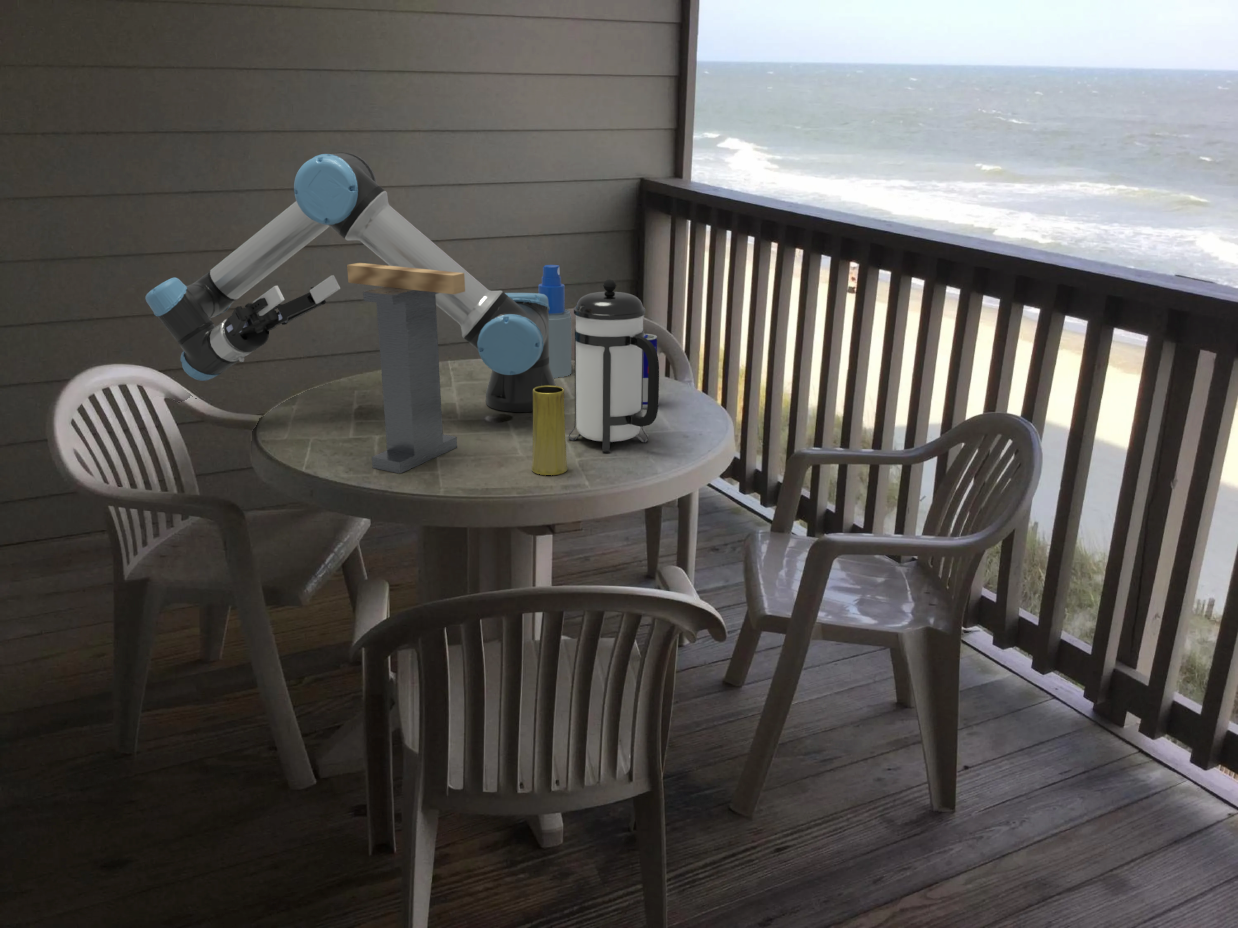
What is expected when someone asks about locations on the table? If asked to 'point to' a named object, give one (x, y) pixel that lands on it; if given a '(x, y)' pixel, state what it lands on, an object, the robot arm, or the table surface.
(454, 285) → the oak bar
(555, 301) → the spray bottle
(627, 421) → the coffee press
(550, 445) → the vase
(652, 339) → the beverage can
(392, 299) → the charcoal post
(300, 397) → the table surface
